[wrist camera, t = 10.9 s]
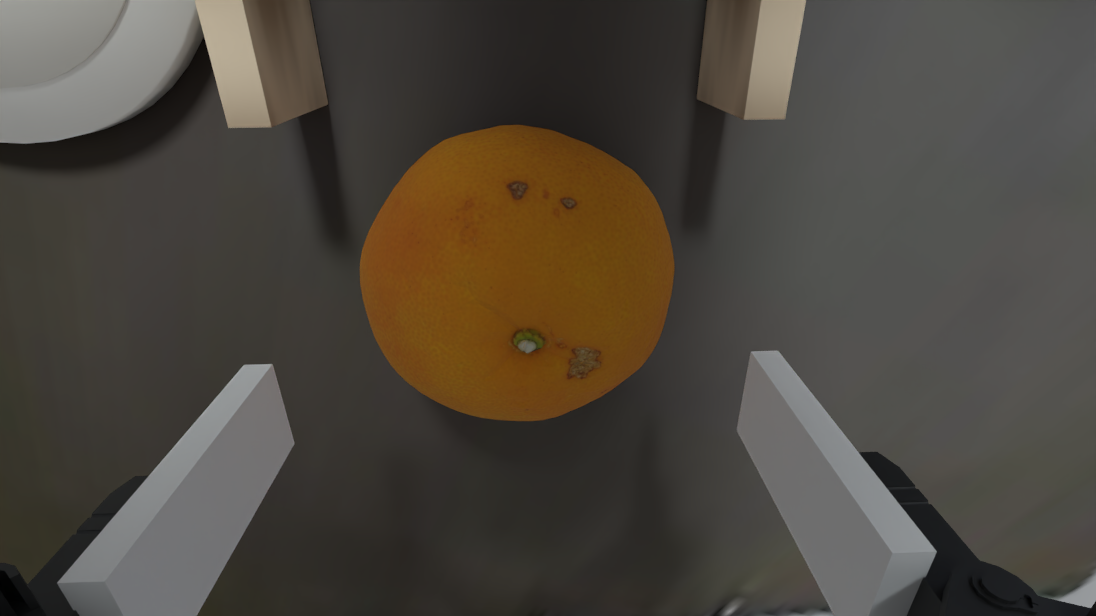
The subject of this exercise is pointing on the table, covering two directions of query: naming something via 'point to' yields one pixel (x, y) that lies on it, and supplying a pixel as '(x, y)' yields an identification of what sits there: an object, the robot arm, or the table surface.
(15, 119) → the plate
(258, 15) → the oak open frame
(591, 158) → the fruit
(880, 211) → the table surface
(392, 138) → the table surface
